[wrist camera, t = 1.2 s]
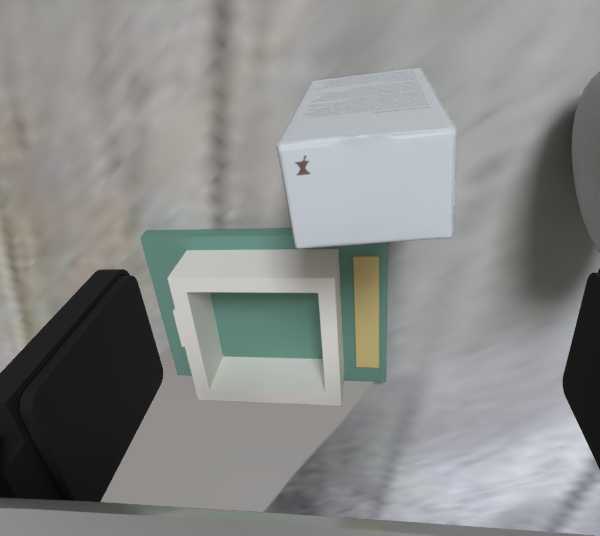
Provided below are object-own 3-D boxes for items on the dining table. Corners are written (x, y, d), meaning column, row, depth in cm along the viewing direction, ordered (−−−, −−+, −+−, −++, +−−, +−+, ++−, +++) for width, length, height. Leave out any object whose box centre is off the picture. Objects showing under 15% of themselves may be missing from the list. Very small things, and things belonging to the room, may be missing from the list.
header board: (387, 226, 30) (388, 262, 27) (385, 372, 36) (386, 418, 33) (146, 230, 33) (116, 263, 29) (182, 366, 39) (160, 408, 35)
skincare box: (320, 155, 29) (289, 252, 18) (311, 79, 27) (271, 141, 16) (426, 145, 28) (455, 242, 17) (425, 65, 26) (458, 122, 15)
